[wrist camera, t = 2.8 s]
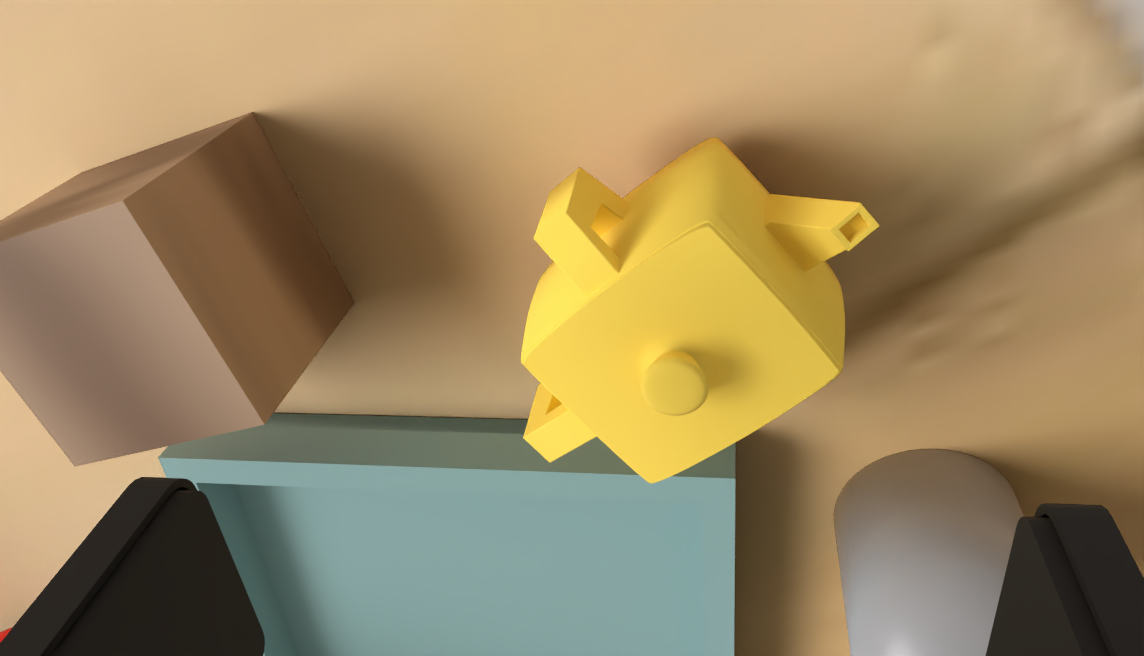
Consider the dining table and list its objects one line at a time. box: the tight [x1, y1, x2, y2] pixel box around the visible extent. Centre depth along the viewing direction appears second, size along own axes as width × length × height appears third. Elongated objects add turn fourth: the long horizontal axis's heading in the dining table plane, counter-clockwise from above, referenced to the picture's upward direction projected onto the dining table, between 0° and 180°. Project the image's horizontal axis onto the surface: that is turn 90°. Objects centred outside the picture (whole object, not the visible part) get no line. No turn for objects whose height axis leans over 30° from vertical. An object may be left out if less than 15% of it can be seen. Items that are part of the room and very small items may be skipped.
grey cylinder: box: [834, 449, 1024, 656], centre depth 20 cm, size 4×4×6 cm
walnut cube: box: [0, 112, 354, 466], centre depth 19 cm, size 5×5×5 cm
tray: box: [158, 413, 736, 656], centre depth 25 cm, size 15×12×2 cm
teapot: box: [521, 137, 880, 483], centre depth 17 cm, size 8×6×5 cm
